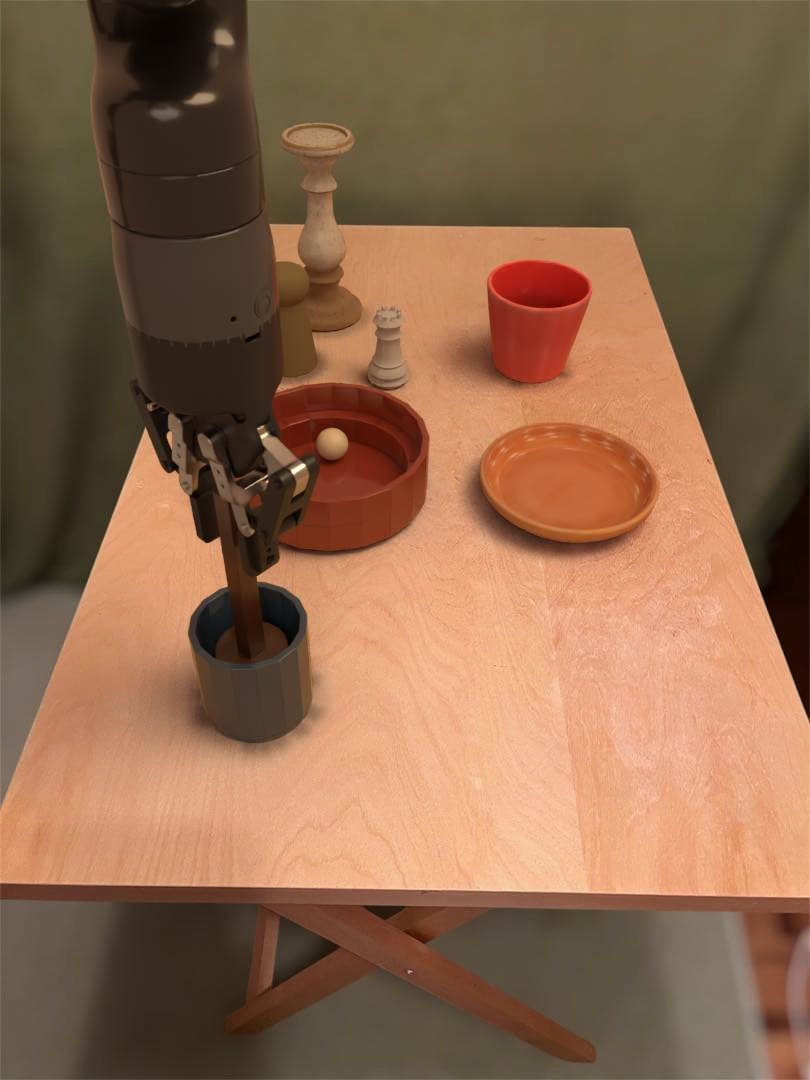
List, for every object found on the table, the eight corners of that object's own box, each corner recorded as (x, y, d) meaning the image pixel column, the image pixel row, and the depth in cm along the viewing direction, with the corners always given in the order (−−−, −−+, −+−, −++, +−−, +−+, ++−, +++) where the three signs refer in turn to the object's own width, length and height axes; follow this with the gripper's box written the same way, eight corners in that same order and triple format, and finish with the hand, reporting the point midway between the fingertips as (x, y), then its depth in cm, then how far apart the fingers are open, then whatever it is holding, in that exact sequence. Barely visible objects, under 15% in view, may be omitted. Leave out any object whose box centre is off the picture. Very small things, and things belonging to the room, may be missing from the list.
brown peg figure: (283, 341, 102) (276, 248, 95) (328, 357, 100) (324, 263, 93) (250, 366, 98) (240, 271, 91) (296, 383, 96) (289, 287, 89)
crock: (252, 762, 62) (240, 689, 57) (181, 699, 66) (164, 625, 60) (334, 695, 66) (331, 622, 61) (264, 639, 70) (254, 565, 65)
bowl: (329, 585, 75) (327, 531, 70) (198, 491, 83) (188, 438, 79) (464, 489, 84) (469, 436, 80) (334, 413, 92) (332, 362, 88)
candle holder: (271, 316, 106) (255, 136, 93) (319, 288, 112) (311, 113, 98) (329, 340, 103) (322, 156, 89) (376, 310, 108) (377, 132, 94)
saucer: (518, 427, 91) (521, 402, 89) (674, 477, 86) (681, 452, 84) (447, 519, 81) (449, 493, 79) (620, 583, 76) (626, 557, 73)
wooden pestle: (254, 734, 63) (222, 531, 50) (208, 694, 66) (167, 491, 53) (307, 692, 66) (290, 489, 53) (261, 655, 68) (234, 453, 55)
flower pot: (597, 379, 98) (613, 297, 91) (506, 400, 95) (516, 315, 88) (549, 332, 105) (561, 252, 98) (463, 349, 102) (469, 268, 95)
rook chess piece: (394, 395, 95) (395, 327, 89) (359, 382, 97) (357, 314, 91) (416, 375, 98) (419, 308, 92) (381, 363, 99) (382, 296, 94)
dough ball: (332, 470, 85) (331, 444, 83) (310, 457, 86) (308, 431, 84) (355, 456, 86) (354, 430, 84) (333, 443, 88) (331, 417, 86)
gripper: (53, 274, 46) (118, 527, 58) (235, 383, 39) (267, 646, 51) (174, 228, 50) (213, 473, 62) (358, 320, 43) (362, 576, 55)
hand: (237, 550), depth 56 cm, fingers open, 3 cm apart
